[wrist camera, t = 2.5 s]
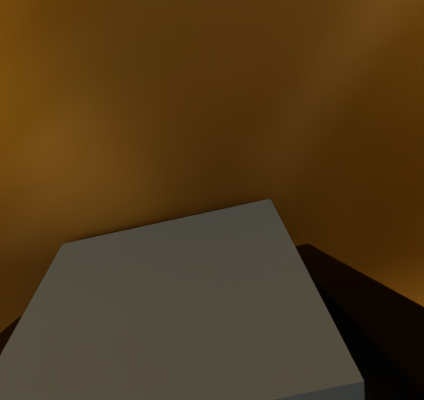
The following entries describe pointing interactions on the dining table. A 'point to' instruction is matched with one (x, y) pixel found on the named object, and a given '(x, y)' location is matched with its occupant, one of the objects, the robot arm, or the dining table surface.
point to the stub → (180, 318)
